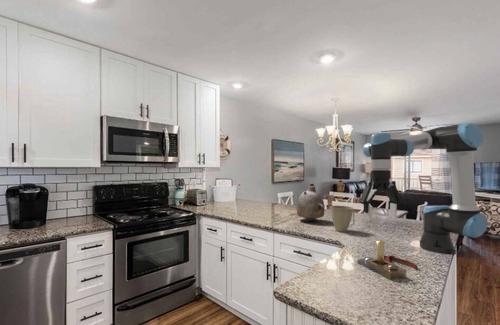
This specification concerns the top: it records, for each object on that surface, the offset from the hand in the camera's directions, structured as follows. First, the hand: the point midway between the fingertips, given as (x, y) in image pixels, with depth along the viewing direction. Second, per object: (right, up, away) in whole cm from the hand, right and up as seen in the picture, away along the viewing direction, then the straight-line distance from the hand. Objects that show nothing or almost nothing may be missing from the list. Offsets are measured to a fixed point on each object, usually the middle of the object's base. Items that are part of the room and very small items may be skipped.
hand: (380, 219), depth 110 cm
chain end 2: (0, -21, -4) cm, 21 cm away
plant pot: (+7, -22, +66) cm, 70 cm away
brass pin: (-1, -21, -1) cm, 21 cm away
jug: (-8, -22, +95) cm, 98 cm away
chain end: (-2, -21, +1) cm, 21 cm away
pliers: (+11, -22, +7) cm, 25 cm away
